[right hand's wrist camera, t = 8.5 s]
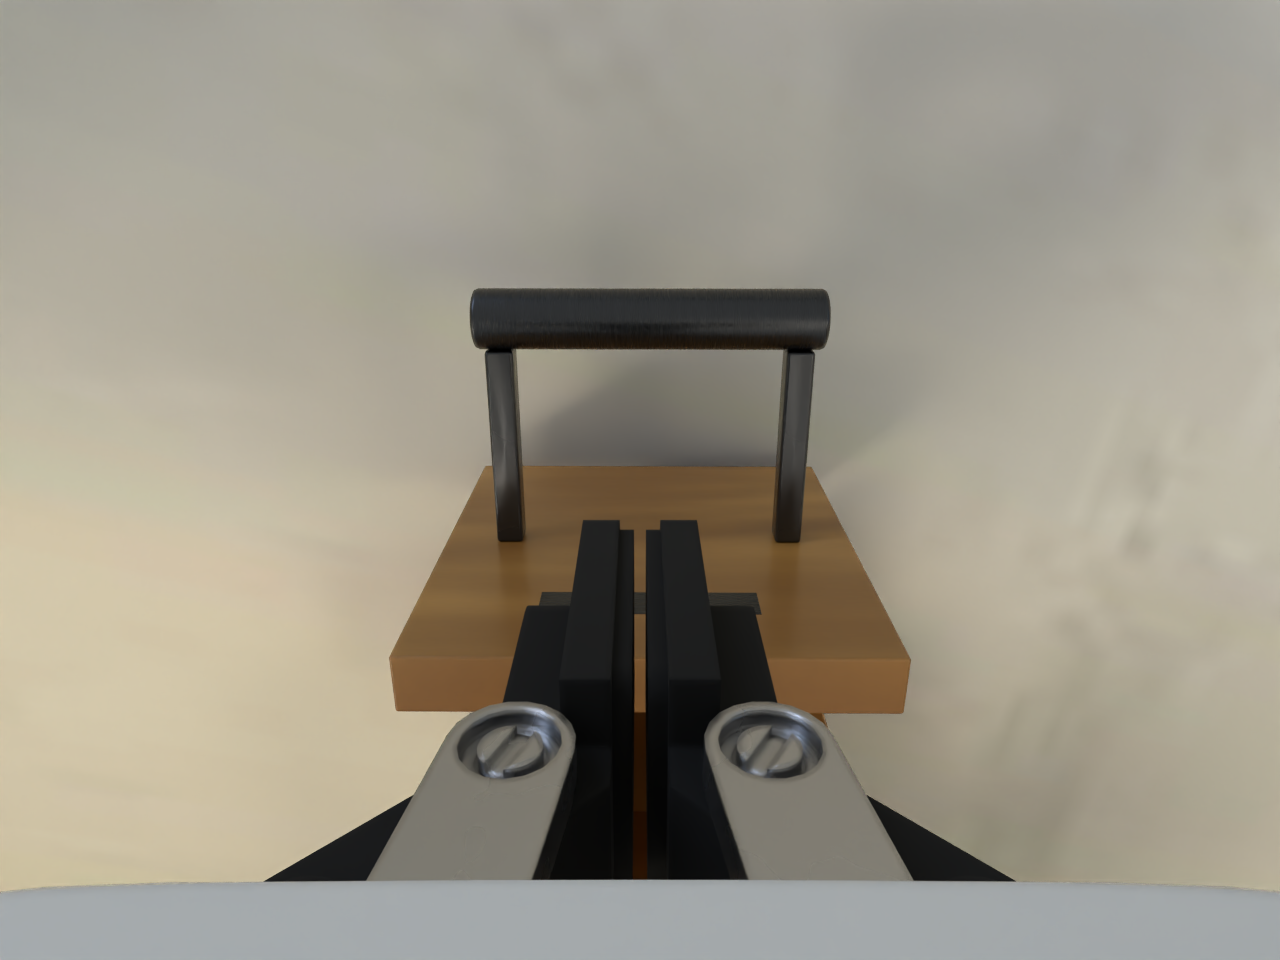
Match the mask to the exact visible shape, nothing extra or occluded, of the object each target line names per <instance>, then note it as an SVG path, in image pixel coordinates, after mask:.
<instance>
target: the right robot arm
mask: <svg viewBox="0 0 1280 960" xmlns="http://www.w3.org/2000/svg"><path fill="white" fill-rule="evenodd" d="M634 712H635V650H634V530H620V520H583V523H582V530H581V536H580V543H579V549H578V556H577V563H576V569H575V576H574V583H573V589H572V596H571V602H570V605H528V606H527V607H526V610H525V613H524V617H523V621H522V625H521V629H520V633H519V637H518V642H517V646H516V650H515V654H514V658H513V662H512V666H511V670H510V674H509V678H508V682H507V686H506V691H505V695H504V699H503V703H500V704H495V705H489V706H487V707H484V708H482V709H480V710H477V711H475V712H472V713H470V714H469V715H468V716H466V717H465V718H463V719H462V720H460V721H459V722H458V723H456V725H455V726H454V727H453V728H452V730H451V731H450V732H449V733H448V735H447V736H446V738H445V740H444V741H443V743H442V745H441V747H440V749H439V750H438V752H437V754H436V756H435V758H434V759H433V761H432V763H431V765H430V767H429V768H428V770H427V772H426V774H425V776H424V777H423V779H422V781H421V783H420V785H419V786H418V788H417V790H416V792H415V794H414V795H413V796H411V797H409V798H407V799H406V800H404V801H402V802H400V803H399V804H397V805H395V806H394V807H392V808H390V809H388V810H387V811H385V812H383V813H381V814H380V815H378V816H376V817H374V818H373V819H371V820H369V821H368V822H366V823H364V824H362V825H361V826H359V827H357V828H355V829H354V830H352V831H350V832H349V833H347V834H345V835H343V836H342V837H340V838H338V839H336V840H335V841H333V842H331V843H329V844H328V845H326V846H324V847H323V848H321V849H319V850H317V851H316V852H314V853H312V854H310V855H309V856H307V857H305V858H304V859H302V860H300V861H298V862H297V863H295V864H293V865H291V866H290V867H288V868H286V869H284V870H283V871H281V872H279V873H278V874H276V875H274V876H272V877H271V878H269V879H267V880H265V881H264V882H166V883H139V884H111V885H84V886H57V887H42V888H32V889H22V890H13V891H3V892H0V960H1280V892H1277V891H1267V890H1257V889H1248V888H1238V887H1223V886H1196V885H1169V884H1141V883H1114V882H1016V881H1015V880H1013V879H1011V878H1009V877H1008V876H1006V875H1004V874H1002V873H1001V872H999V871H997V870H996V869H994V868H992V867H990V866H989V865H987V864H985V863H983V862H982V861H980V860H978V859H976V858H975V857H973V856H971V855H970V854H968V853H966V852H964V851H963V850H961V849H959V848H957V847H956V846H954V845H952V844H951V843H949V842H947V841H945V840H944V839H942V838H940V837H938V836H937V835H935V834H933V833H931V832H930V831H928V830H926V829H925V828H923V827H921V826H919V825H918V824H916V823H914V822H912V821H911V820H909V819H907V818H906V817H904V816H902V815H900V814H899V813H897V812H895V811H893V810H892V809H890V808H888V807H886V806H885V805H883V804H881V803H880V802H878V801H876V800H874V799H873V798H871V797H869V796H867V795H866V794H865V792H864V790H863V788H862V786H861V785H860V783H859V781H858V779H857V777H856V776H855V774H854V772H853V770H852V768H851V767H850V765H849V763H848V761H847V759H846V758H845V756H844V754H843V752H842V750H841V749H840V747H839V745H838V743H837V741H836V740H835V738H834V736H833V735H832V733H831V732H830V731H829V730H828V728H827V727H826V726H825V725H824V723H822V722H821V721H820V720H818V719H817V718H815V717H814V716H812V715H811V714H810V713H808V712H805V711H803V710H800V709H798V708H796V707H793V706H791V705H785V704H780V703H777V699H776V695H775V691H774V686H773V682H772V678H771V674H770V670H769V666H768V662H767V658H766V654H765V650H764V646H763V642H762V637H761V633H760V629H759V625H758V621H757V617H756V613H755V610H754V607H753V606H752V605H710V602H709V596H708V589H707V583H706V576H705V569H704V563H703V556H702V549H701V543H700V536H699V530H698V523H697V520H660V530H646V650H645V712H646V816H647V880H633V815H634Z"/></svg>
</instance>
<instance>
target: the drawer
mask: <svg viewBox="0 0 1280 960" xmlns="http://www.w3.org/2000/svg"><path fill="white" fill-rule="evenodd" d="M830 320H831V308H830V300H829V296H828V293H827V291H826V290H823V289H534V288H478V289H476V290H474V291H473V294H472V297H471V302H470V328H471V335H472V339H473V342H474V344H475V346H476V347H477V348H479V349H487V351H486V352H485V365H486V379H487V394H488V408H489V423H490V437H491V452H492V466H485V468H484V470H483V472H482V474H481V476H480V478H479V480H478V482H477V484H476V486H475V488H474V490H473V492H472V494H471V496H470V498H469V500H468V502H467V504H466V506H465V508H464V510H463V512H462V514H461V516H460V518H459V520H458V522H457V524H456V526H455V528H454V530H453V532H452V534H451V536H450V538H449V540H448V542H447V544H446V546H445V548H444V549H443V551H442V553H441V555H440V557H439V559H438V561H437V563H436V565H435V567H434V569H433V571H432V573H431V575H430V577H429V579H428V581H427V583H426V585H425V587H424V589H423V591H422V593H421V595H420V597H419V599H418V601H417V603H416V605H415V607H414V609H413V611H412V613H411V615H410V617H409V619H408V621H407V623H406V625H405V627H404V629H403V631H402V633H401V635H400V637H399V639H398V641H397V643H396V645H395V647H394V649H393V651H392V653H391V655H390V657H389V660H390V668H391V676H392V684H393V691H394V699H395V707H396V710H397V711H464V712H475V711H477V710H480V709H482V708H484V707H487V706H489V705H495V704H500V703H503V699H504V695H505V691H506V686H507V682H508V678H509V674H510V670H511V666H512V662H513V658H514V654H515V650H516V646H517V642H518V637H519V633H520V629H521V625H522V621H523V617H524V613H525V610H526V607H527V606H528V605H570V602H571V596H572V589H573V583H574V576H575V569H576V563H577V556H578V549H579V543H580V536H581V530H582V523H583V520H620V530H634V650H635V712H634V815H633V880H647V816H646V712H645V650H646V530H660V520H697V523H698V530H699V536H700V543H701V549H702V556H703V563H704V569H705V576H706V583H707V589H708V596H709V602H710V605H752V606H753V607H754V610H755V613H756V617H757V621H758V625H759V629H760V633H761V637H762V642H763V646H764V650H765V654H766V658H767V662H768V666H769V670H770V674H771V678H772V682H773V686H774V691H775V695H776V699H777V703H780V704H785V705H791V706H793V707H796V708H798V709H800V710H803V711H805V712H808V713H810V714H811V715H812V716H814V717H815V718H817V719H818V720H820V721H821V722H822V723H824V725H825V726H826V727H827V728H828V726H827V723H826V720H825V717H824V714H823V713H884V714H901V713H903V712H904V705H905V698H906V691H907V684H908V677H909V670H910V663H911V659H910V657H909V655H908V653H907V651H906V649H905V647H904V645H903V643H902V641H901V639H900V637H899V636H898V634H897V632H896V630H895V628H894V626H893V624H892V622H891V620H890V618H889V616H888V614H887V612H886V610H885V608H884V607H883V605H882V603H881V601H880V599H879V597H878V595H877V593H876V591H875V589H874V587H873V585H872V583H871V581H870V579H869V577H868V576H867V574H866V572H865V570H864V568H863V566H862V564H861V562H860V560H859V558H858V556H857V554H856V552H855V550H854V548H853V547H852V545H851V543H850V541H849V539H848V537H847V535H846V533H845V531H844V529H843V527H842V525H841V523H840V521H839V519H838V517H837V516H836V514H835V512H834V510H833V508H832V506H831V504H830V502H829V500H828V498H827V496H826V494H825V492H824V490H823V488H822V486H821V485H820V483H819V481H818V479H817V477H816V475H815V473H814V471H813V469H812V467H806V463H807V451H808V438H809V425H810V412H811V400H812V387H813V374H814V362H815V353H814V352H813V350H820V349H823V348H824V347H825V345H826V343H827V340H828V336H829V331H830ZM516 349H700V350H783V364H782V380H781V395H780V411H779V427H778V442H777V458H776V467H666V466H522V449H521V430H520V412H519V394H518V375H517V357H516Z"/></svg>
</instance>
